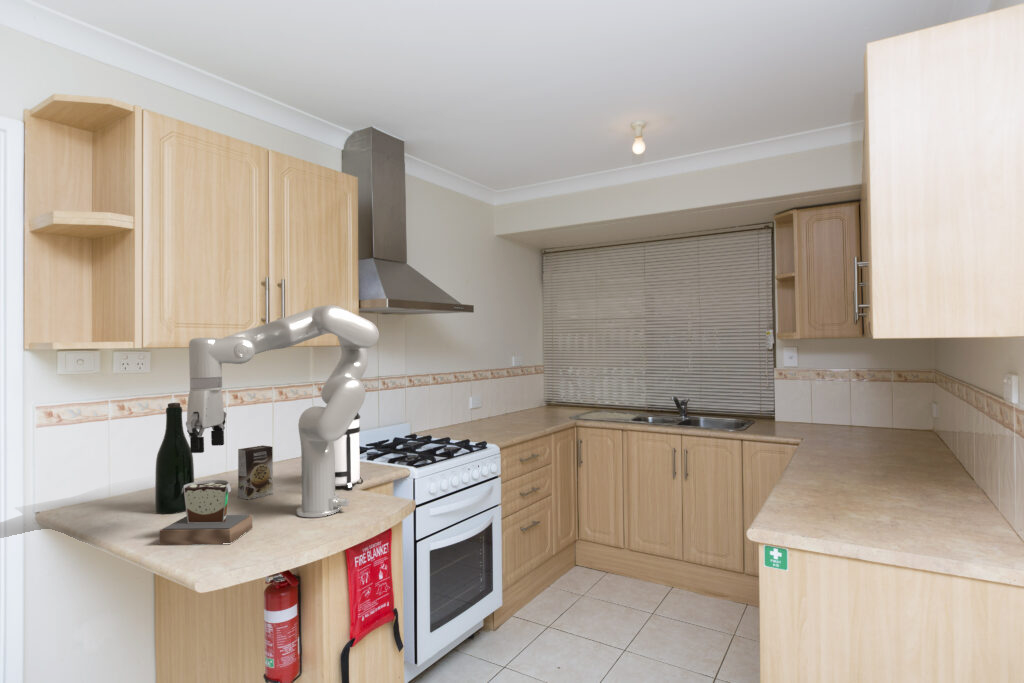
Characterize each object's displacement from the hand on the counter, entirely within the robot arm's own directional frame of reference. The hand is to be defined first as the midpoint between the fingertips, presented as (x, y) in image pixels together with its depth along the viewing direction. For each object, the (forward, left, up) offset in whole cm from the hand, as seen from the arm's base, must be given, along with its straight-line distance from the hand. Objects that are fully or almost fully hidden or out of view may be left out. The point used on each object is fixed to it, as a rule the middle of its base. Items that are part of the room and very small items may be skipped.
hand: (207, 448), depth 148 cm
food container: (0, -1, -19) cm, 19 cm away
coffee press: (-20, -49, -23) cm, 58 cm away
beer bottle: (+24, -25, -23) cm, 42 cm away
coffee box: (+6, -40, -23) cm, 47 cm away
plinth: (0, 0, -23) cm, 23 cm away
